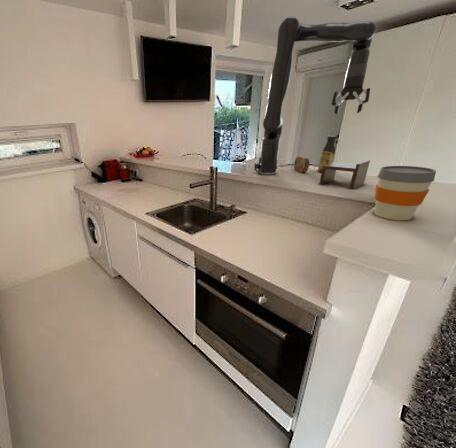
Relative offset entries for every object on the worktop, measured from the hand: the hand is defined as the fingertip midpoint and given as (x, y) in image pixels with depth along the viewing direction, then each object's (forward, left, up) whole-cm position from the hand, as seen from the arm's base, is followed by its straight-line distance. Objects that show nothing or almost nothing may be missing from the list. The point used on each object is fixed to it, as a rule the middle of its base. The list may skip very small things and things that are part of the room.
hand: (347, 113), depth 121 cm
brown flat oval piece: (-19, +3, -31) cm, 37 cm away
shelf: (+10, -16, -31) cm, 36 cm away
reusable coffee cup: (+37, -48, -31) cm, 68 cm away
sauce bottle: (-8, +8, -31) cm, 33 cm away
